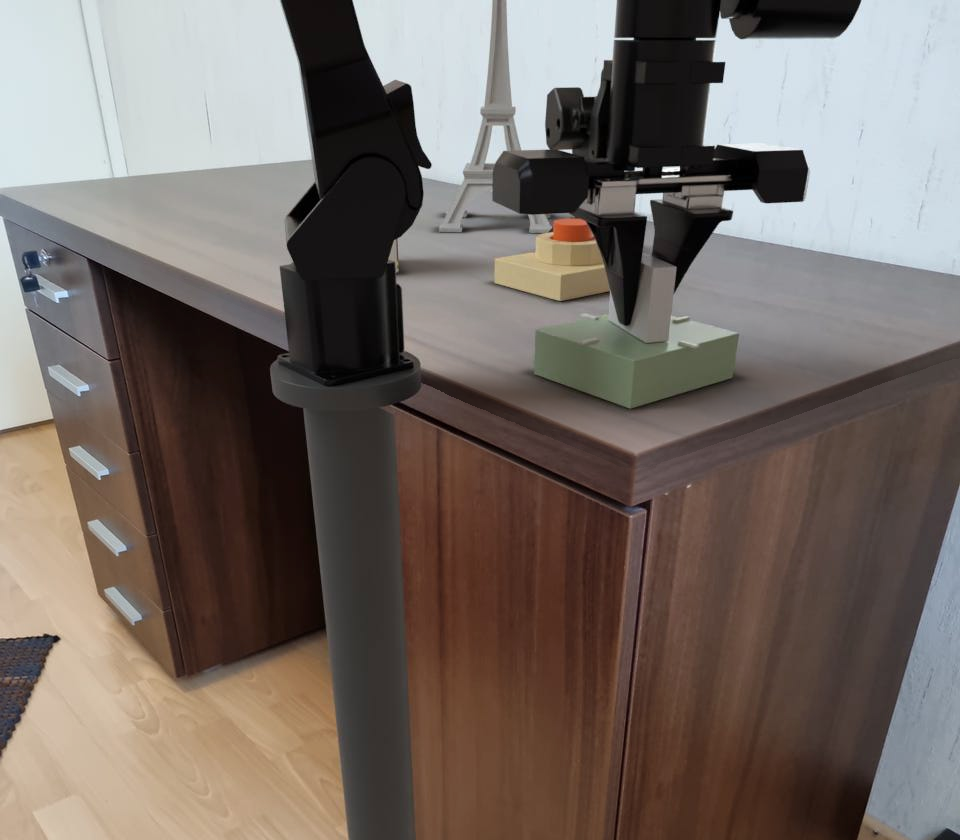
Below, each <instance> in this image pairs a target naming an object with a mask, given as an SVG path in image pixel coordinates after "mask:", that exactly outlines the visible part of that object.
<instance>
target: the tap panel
mask: <svg viewBox="0 0 960 840" xmlns="http://www.w3.org/2000/svg"><path fill="white" fill-rule="evenodd" d="M608 314H609V313H604V314H600V315H595V314H590V313H586V312H584V313H581V314H580V316H581V317H583V318H582V319H578V320H573V321H568V322H563V323H559V324H554V325H550V326H546V327H545V326H544V327H541V328H537V329H535V330H534V331H535V335H534V358H533V359H534V360H533V374H534V375H536V376H539V377H542V378H544V379H547V380H548V381H549V380H550V381H552V382H555V383H558V384H561V385H563V386H566V387H568V388H572V389H575V390H577V391H579V392H583V393H584V394H585V393H586V394H588V395H590V396H594V397H597V398H599V399H602V400H605V401H608V402H610V403H613V404H616V405H619V406H622V407H624V408H627V409H629V410H630V409H635V408H638V407H640V406H644V405H647V404H648V405H649V404H651V403H655V402H657V401H661V400H665V399H667V398H671V397H674V396H677V395H681V394H684V393H688V392H690V391H694V390H697V389H700V388H704V387H707V386H710V385H713V384H717V383H721V382H724V381H727V380H730V379H733V377H734V370H735V364H736V358H737V351H738V345H739V338H740V333H739V332H736V331H732V330H729V329H725V328H721V327H718V326H714V325H709V324H706V323H702V322H699V321H694V320H692V319H691V317H690V316H687V315H684V316H681V317H679V316H676V315H672V314H671V321H670V330H669V339H668V341H665V342H653V343H645V342H643V341H642V340H640V339H638V338H637V337H635V336H634V335H632V334H630V333H629V332H627V331H625V330H624V329H622V328H621V327H619V326H617V325H616V324H614V323H613V322H611V321H609V320H608Z"/></svg>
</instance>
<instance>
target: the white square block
mask: <svg viewBox="0 0 960 840" xmlns="http://www.w3.org/2000/svg"><path fill="white" fill-rule="evenodd" d="M676 268H677V267H676V266H673V265H671V264H669V263H667V262H664V261H662V260H660V259H657V258H655V257H653V256H652V254H648V253H646V252H644V251H643V253H642V260H641V268H640V275H639V283H638V290H637V298H636V304H635V309H634V312H633V316H632V320H631V324H630V325H629V326H624V325H622V324H620V323H619V321H618V318H617V314H616V310H615V306H614V302H613V298H612V294H611V290H610V291H609V302H608V303H609V305H608V313H607V314H608V320H609V321H611V322H613V323H614V324H616V325H617V326H619V327H621V328H622V329H624V330H625V331H627V332H629V333H630V334H632V335H634V336H635V337H637V338H638V339H640V340H642V341H643V342H645V343H653V342H665V341H668V339H669V330H670V321H671V315H672V312H673V302H674V296H675V293H674V286H675V277H676Z"/></svg>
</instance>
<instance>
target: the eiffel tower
mask: <svg viewBox="0 0 960 840" xmlns="http://www.w3.org/2000/svg"><path fill="white" fill-rule="evenodd" d="M507 7H508V6H507V0H492V4H491V23H490V38H489V39H490V40H489V52H488V64H487V65H488V66H487V78H486V86H485V97H484V103H483V106H481V107H480V108H479V111H480V112H479V114H480V115H481V123H480V127H479V132H478V135H477V139H476V143H475V147H474V151H473V154H472V157H471V160H470V162H467V163H466V164H465V166H464V168H463V169H462V175H463V180H462V182H461V184H460V186H459V188H458V190H457V192H456V194H455V196H454V198H453V200H452V202H451V203H450V206H449V208H448V210H446V211H445V214H444V215H445V216H444V219H443V221H442V224H441V223H440V225H439V227H438V232H439V233H462V232H463V230H464V229H463V228H464V224H462V222H463V218H467V217H468V210H467V209H468V207H469V205H470V204H471V203H472V202H473V201H474V200H475V199H476V198H477V197H479V196H481V195H482V194H485V193H487V192H492V187H493V169H494V166H495V163H496V162H491V163H490V162H486V161H487V156H488V153H489V148H490V143H491V137H492V132H493V127H494V126H496V127H498V126H499V127H500V126H501V127H502V126H503V134H504V142H505V148H506V151H516V150H522V148H521V143H520V139H519V135H518V130H517V127H516V122H515V118H514V117H515V116H516V109H517V108H516V106H513V101H512V90H511V88H512V87H511V74H510V58H509V57H510V56H509V39H508V38H509V37H508V10H507V9H508V8H507ZM527 216H528V219H529V223H530V224H529V227H528V228H529V229H528V232H529V234H544V233H548V232H549V230H550V229H551V228H553V225H552V224H550V222H549V219H551V214H537V215H530V214H527Z"/></svg>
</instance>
